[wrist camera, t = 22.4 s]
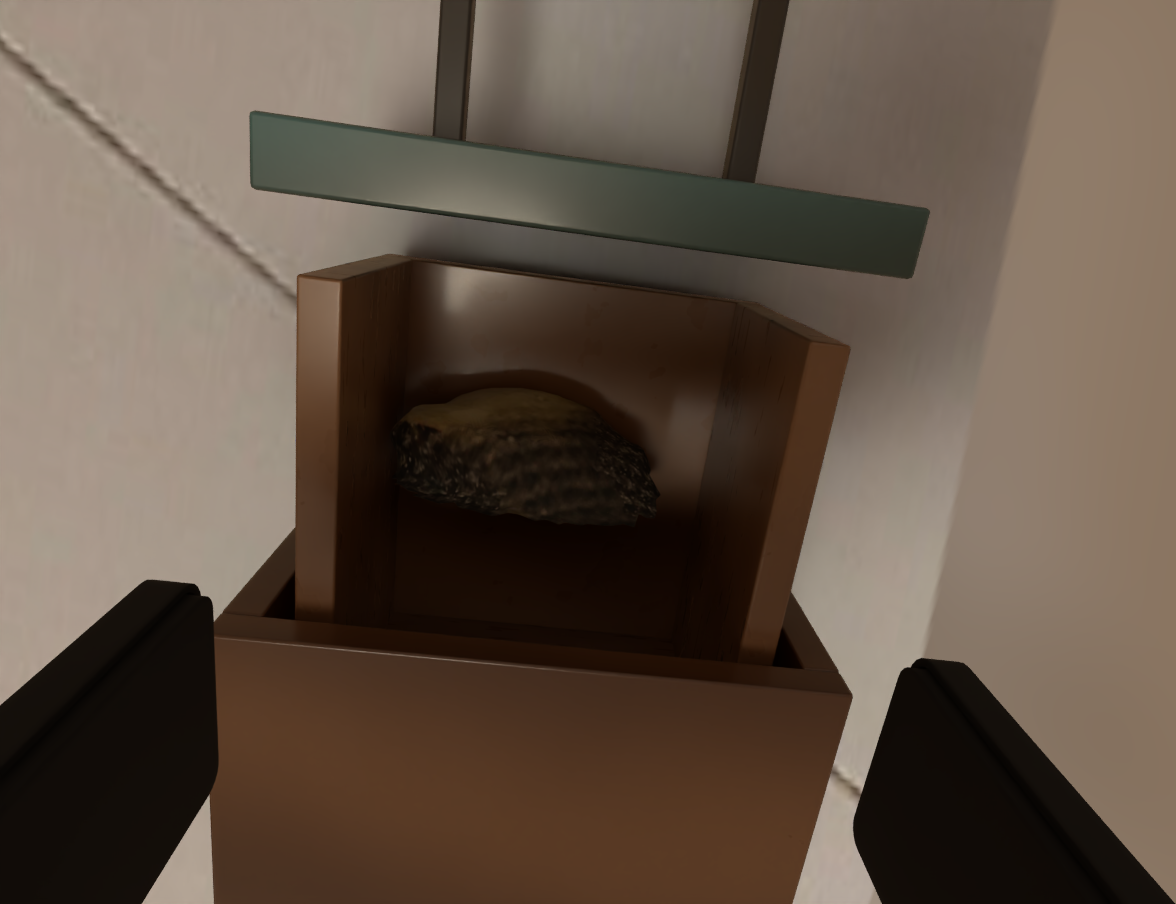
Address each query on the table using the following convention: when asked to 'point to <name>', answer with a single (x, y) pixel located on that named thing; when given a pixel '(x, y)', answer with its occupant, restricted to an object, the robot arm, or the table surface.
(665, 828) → the cabinet
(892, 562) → the table surface
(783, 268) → the table surface
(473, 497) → the brazil nut
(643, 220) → the drawer
